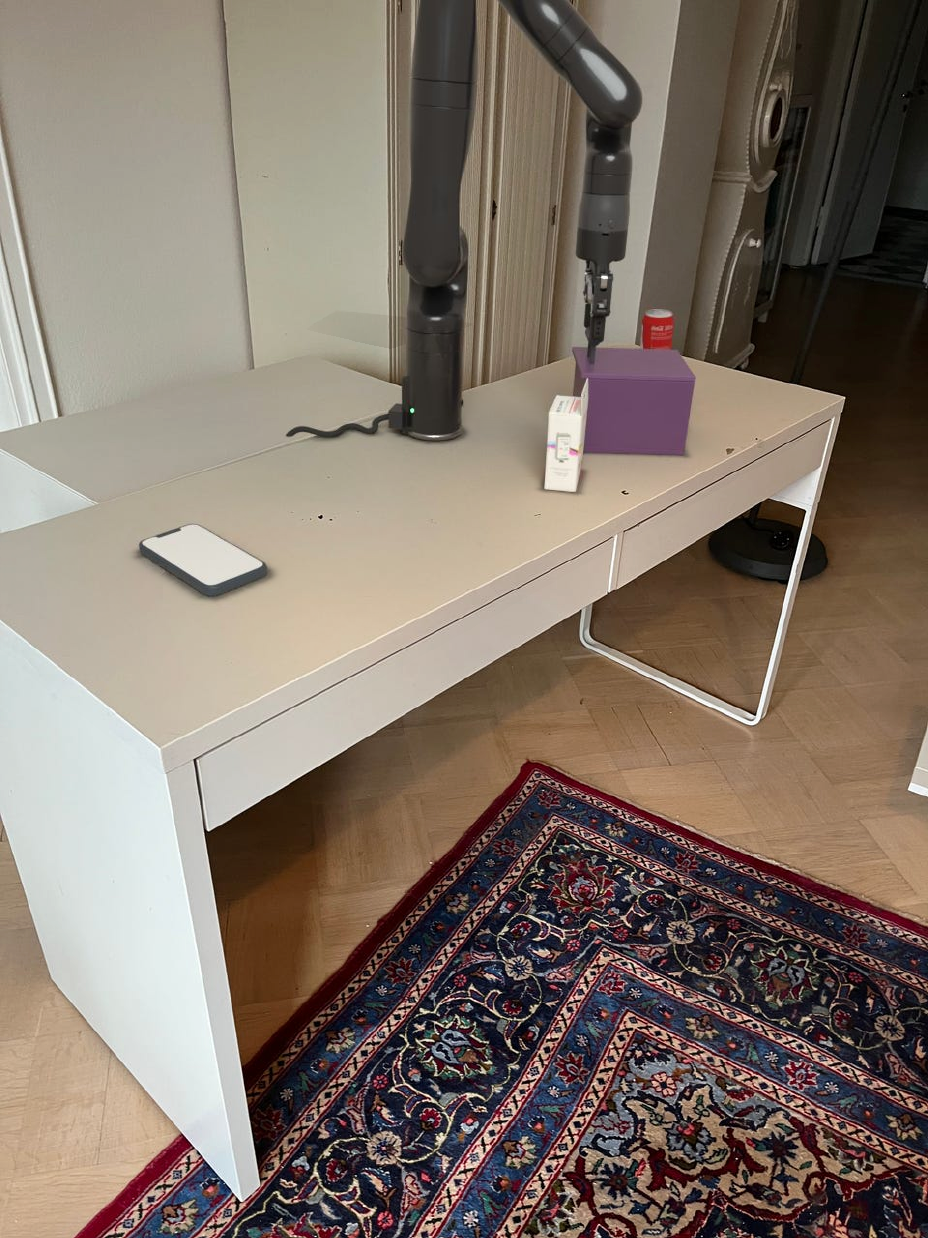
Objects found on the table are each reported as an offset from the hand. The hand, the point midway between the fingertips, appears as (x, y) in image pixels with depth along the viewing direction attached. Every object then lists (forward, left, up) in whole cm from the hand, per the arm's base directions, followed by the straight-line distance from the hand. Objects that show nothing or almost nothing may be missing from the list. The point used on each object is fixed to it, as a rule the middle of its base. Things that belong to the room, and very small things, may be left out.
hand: (593, 334), depth 151 cm
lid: (+6, +2, -5) cm, 8 cm away
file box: (+7, +2, -17) cm, 18 cm away
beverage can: (+9, +28, -17) cm, 34 cm away
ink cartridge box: (0, -20, -17) cm, 26 cm away
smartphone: (-38, -60, -17) cm, 73 cm away
